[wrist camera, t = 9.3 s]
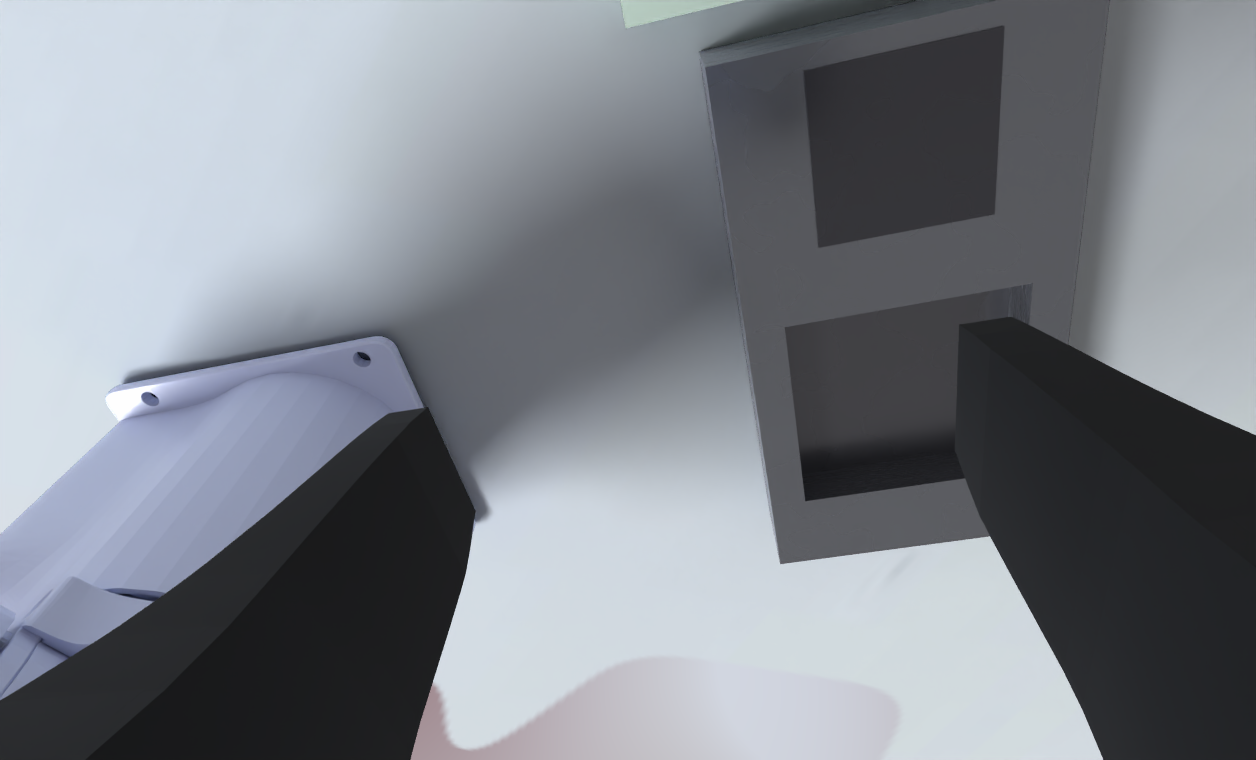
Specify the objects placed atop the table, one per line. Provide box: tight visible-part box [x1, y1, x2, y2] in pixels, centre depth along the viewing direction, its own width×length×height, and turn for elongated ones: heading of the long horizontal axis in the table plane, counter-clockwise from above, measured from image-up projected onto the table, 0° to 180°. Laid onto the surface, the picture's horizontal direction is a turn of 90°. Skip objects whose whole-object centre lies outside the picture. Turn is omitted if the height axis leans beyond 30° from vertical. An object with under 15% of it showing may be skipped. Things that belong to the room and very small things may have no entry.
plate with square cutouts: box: [699, 0, 1110, 564], centre depth 19 cm, size 8×15×2 cm, turn 12°
